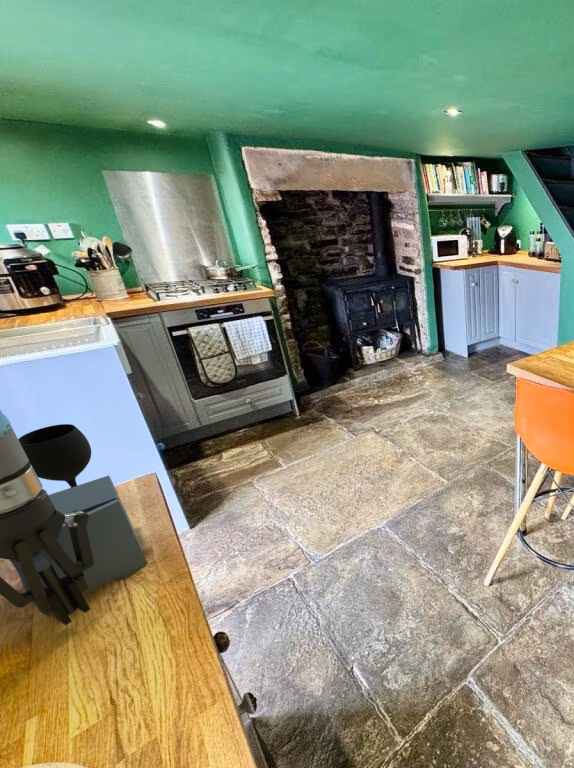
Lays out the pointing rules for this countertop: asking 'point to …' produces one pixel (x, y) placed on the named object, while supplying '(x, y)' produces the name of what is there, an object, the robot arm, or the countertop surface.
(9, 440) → the robot arm
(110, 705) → the countertop surface
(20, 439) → the wine glass
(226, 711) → the countertop surface
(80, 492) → the cupboard
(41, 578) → the cupboard door
